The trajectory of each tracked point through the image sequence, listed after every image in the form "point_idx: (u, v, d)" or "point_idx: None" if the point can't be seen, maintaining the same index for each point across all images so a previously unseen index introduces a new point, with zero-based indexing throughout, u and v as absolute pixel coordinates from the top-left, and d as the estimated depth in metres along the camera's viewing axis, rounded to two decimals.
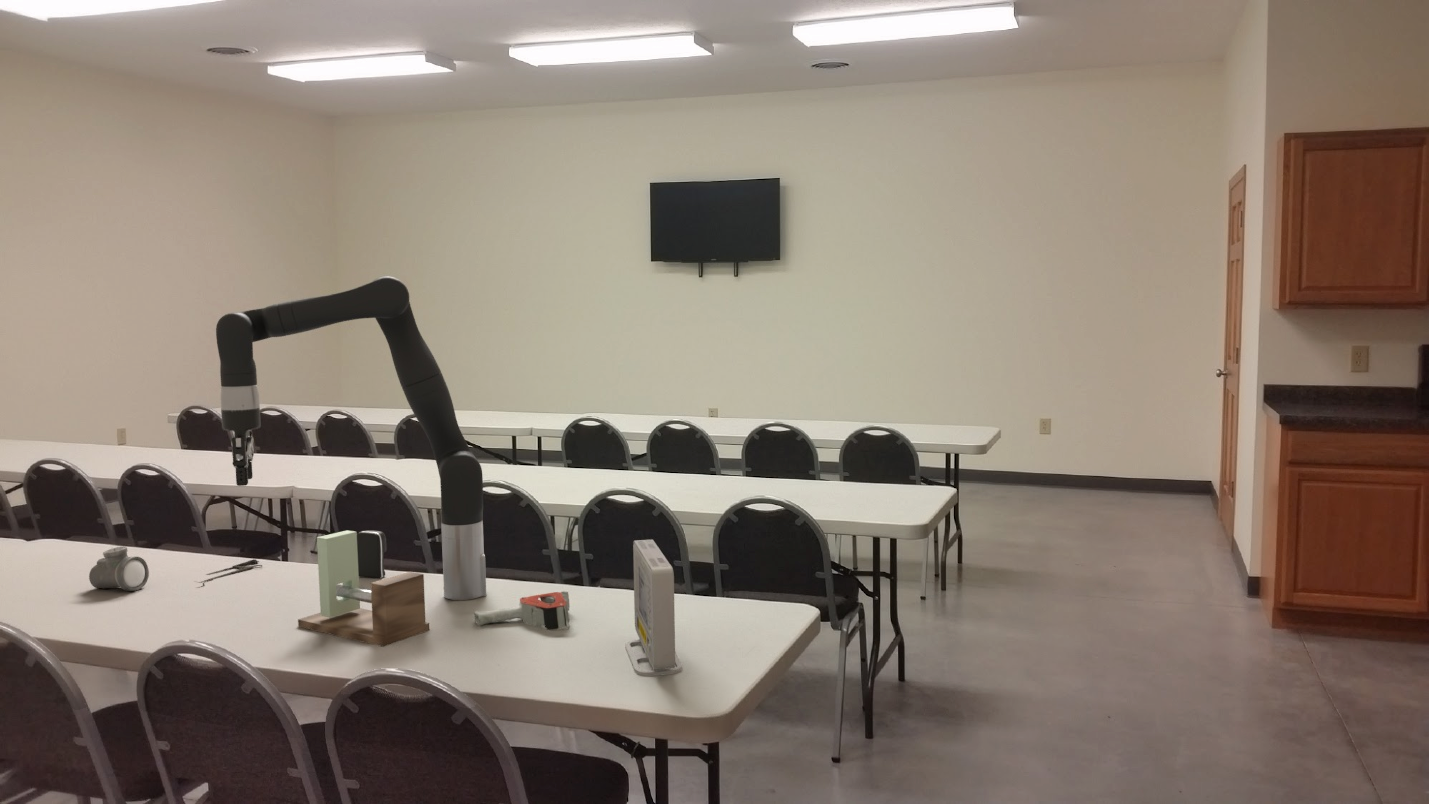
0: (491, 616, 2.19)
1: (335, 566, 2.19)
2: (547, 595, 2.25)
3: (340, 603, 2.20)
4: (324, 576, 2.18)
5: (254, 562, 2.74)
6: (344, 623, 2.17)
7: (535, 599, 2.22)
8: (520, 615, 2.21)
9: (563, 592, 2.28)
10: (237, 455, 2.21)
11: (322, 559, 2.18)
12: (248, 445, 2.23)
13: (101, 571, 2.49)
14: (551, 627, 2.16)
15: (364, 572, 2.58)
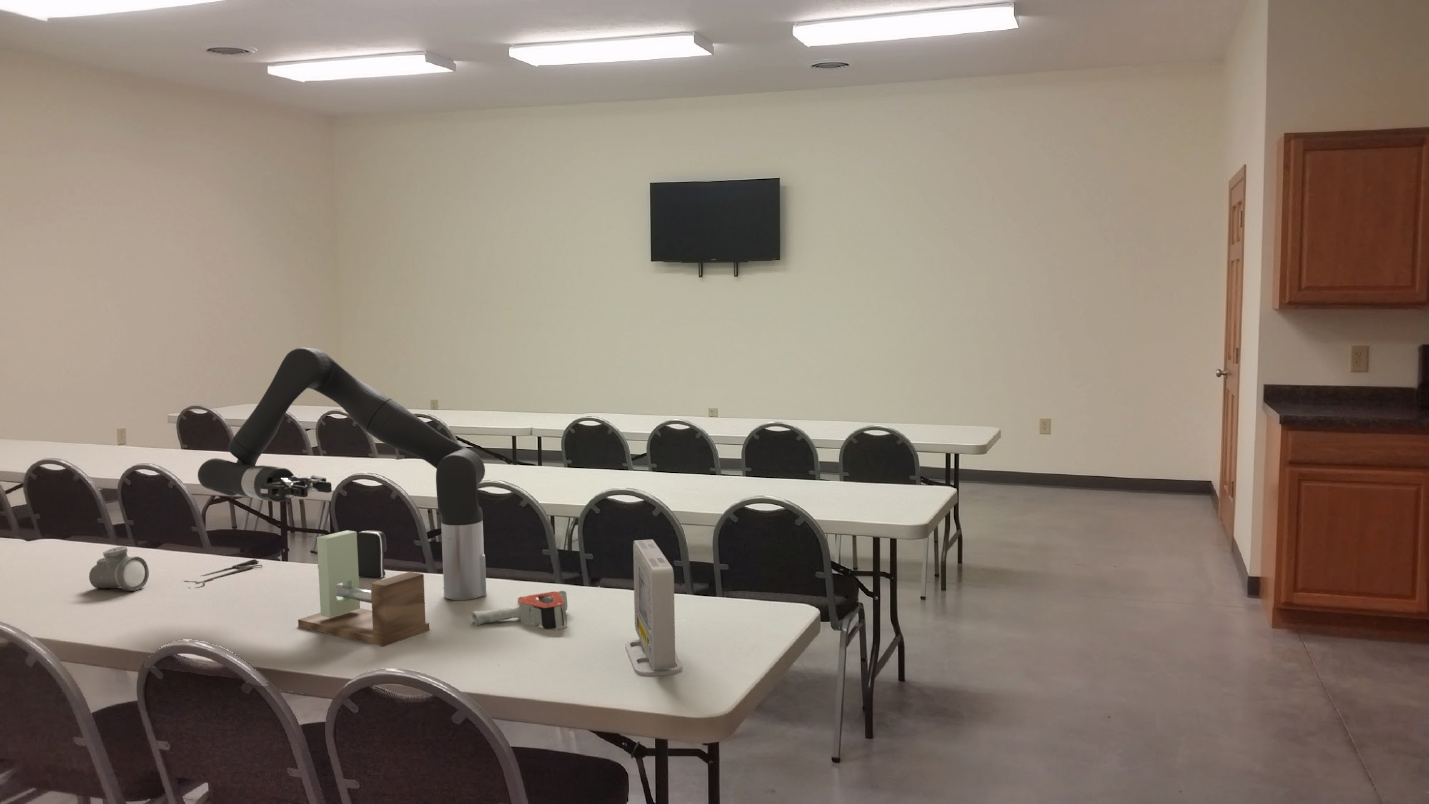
0: (489, 615, 2.20)
1: (335, 566, 2.19)
2: (545, 594, 2.25)
3: (340, 603, 2.20)
4: (324, 576, 2.18)
5: (254, 562, 2.74)
6: (344, 623, 2.17)
7: (533, 599, 2.22)
8: (518, 614, 2.21)
9: (561, 591, 2.28)
10: None
11: (322, 559, 2.18)
12: (282, 481, 2.25)
13: (101, 571, 2.49)
14: (549, 627, 2.16)
15: (364, 572, 2.58)
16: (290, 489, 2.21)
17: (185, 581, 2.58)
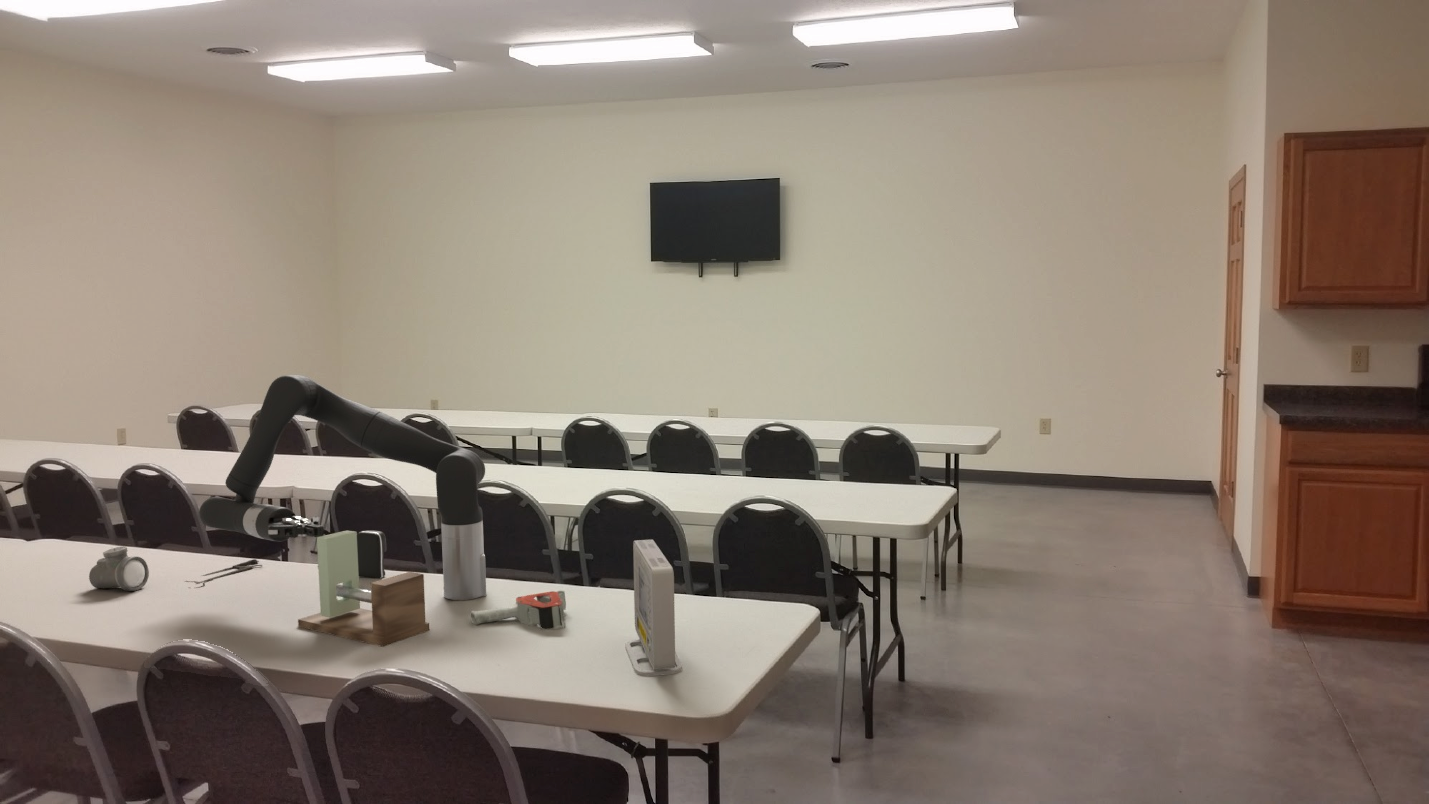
0: (487, 615, 2.20)
1: (335, 566, 2.19)
2: (543, 594, 2.25)
3: (340, 603, 2.20)
4: (324, 576, 2.18)
5: (254, 562, 2.74)
6: (344, 623, 2.17)
7: (531, 598, 2.22)
8: (516, 614, 2.22)
9: (559, 591, 2.29)
10: None
11: (322, 559, 2.18)
12: (287, 521, 2.26)
13: (101, 571, 2.49)
14: (546, 626, 2.16)
15: (364, 572, 2.58)
16: (303, 529, 2.24)
17: (185, 581, 2.58)
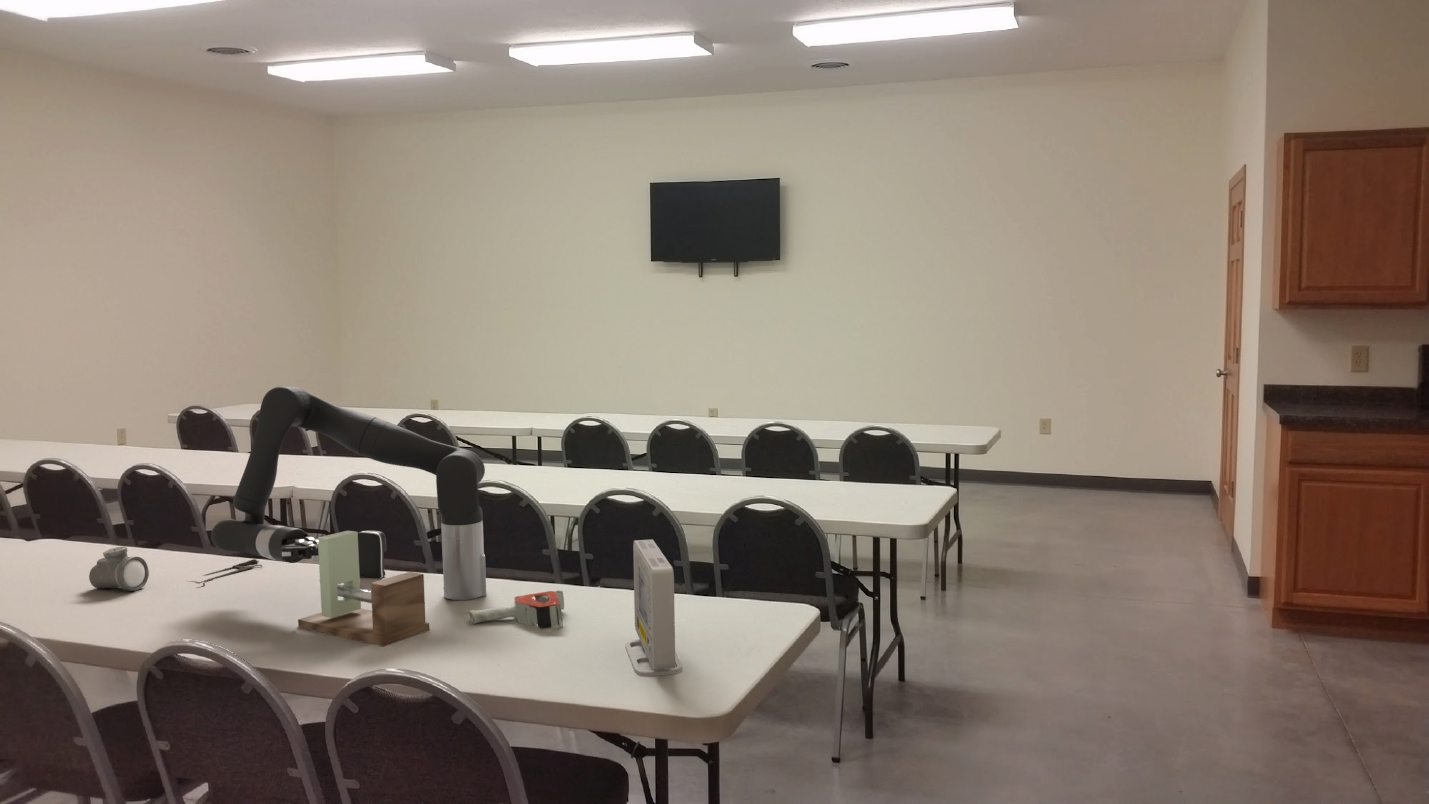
0: (485, 614, 2.21)
1: (336, 566, 2.18)
2: (541, 594, 2.26)
3: (341, 603, 2.20)
4: (325, 576, 2.18)
5: (254, 562, 2.74)
6: (344, 623, 2.17)
7: (529, 598, 2.23)
8: (514, 614, 2.22)
9: (558, 591, 2.29)
10: None
11: (323, 559, 2.17)
12: (300, 543, 2.24)
13: (101, 571, 2.49)
14: (544, 626, 2.17)
15: (364, 572, 2.58)
16: (317, 550, 2.22)
17: None
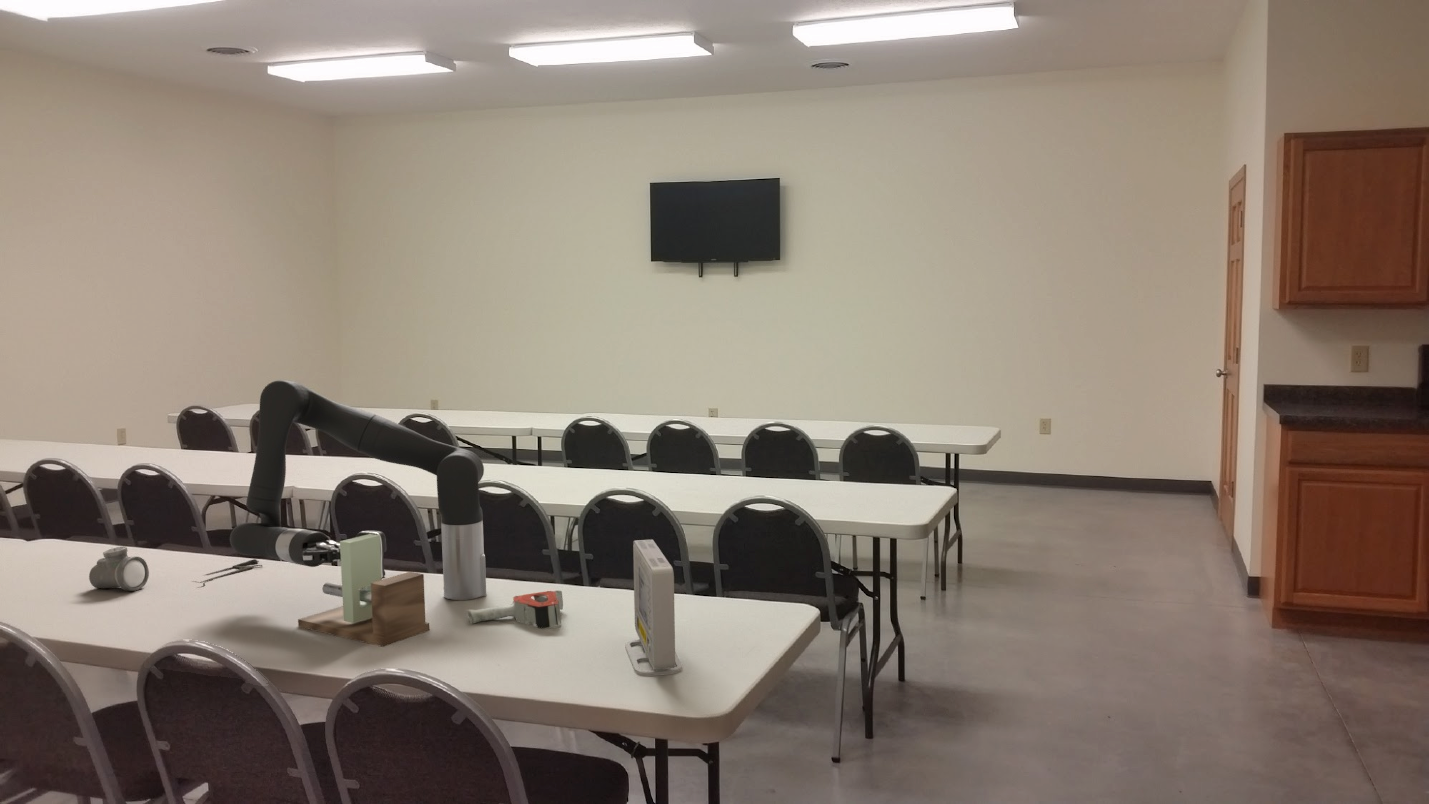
0: (484, 614, 2.21)
1: (358, 570, 2.15)
2: (540, 594, 2.26)
3: (363, 608, 2.16)
4: (347, 581, 2.14)
5: (254, 562, 2.74)
6: (344, 623, 2.17)
7: (528, 598, 2.23)
8: (513, 613, 2.22)
9: (557, 591, 2.29)
10: None
11: (346, 563, 2.14)
12: (321, 546, 2.21)
13: (101, 571, 2.49)
14: (542, 626, 2.17)
15: None
16: (338, 554, 2.18)
17: None
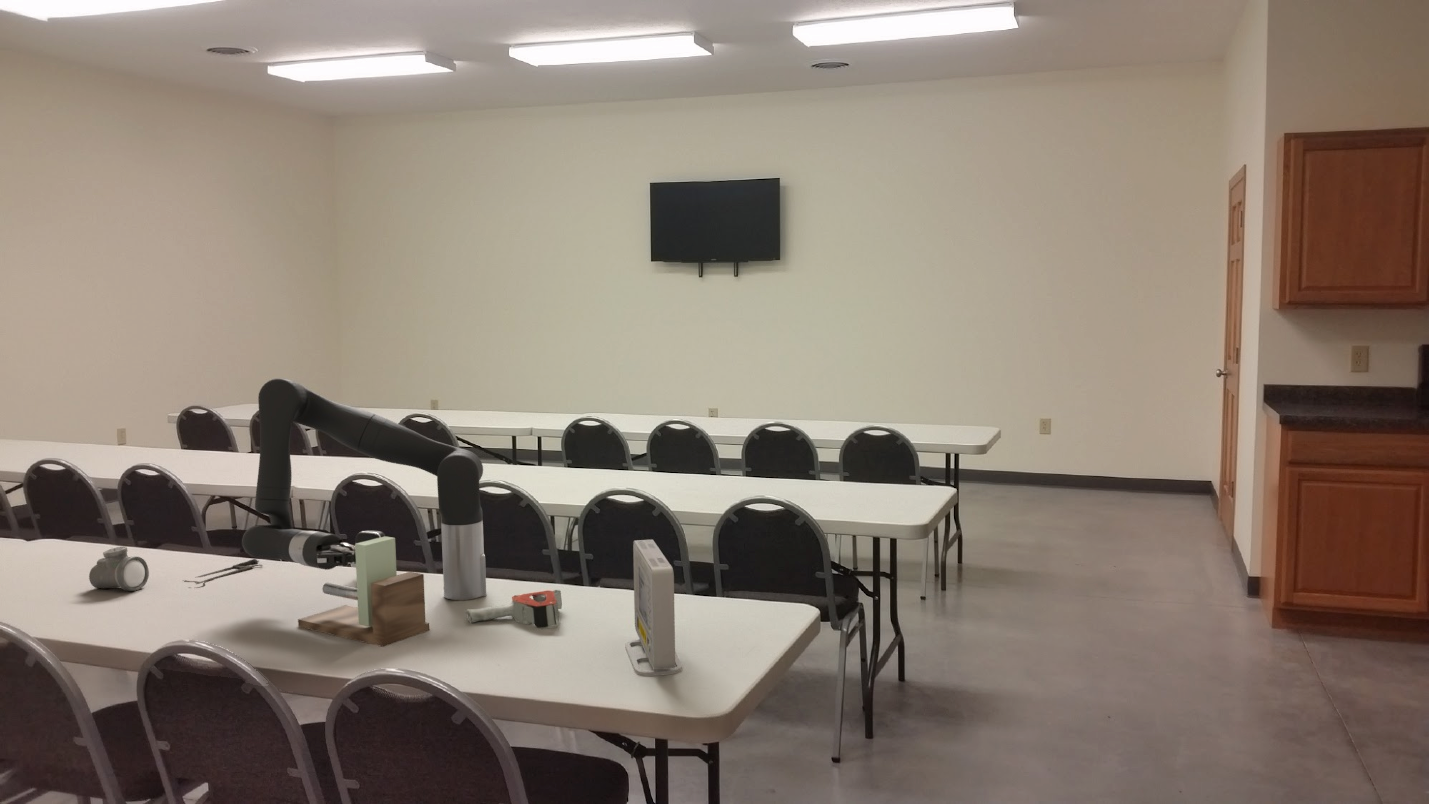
0: (482, 613, 2.21)
1: (373, 573, 2.12)
2: (539, 593, 2.26)
3: None
4: (362, 584, 2.12)
5: (254, 562, 2.74)
6: (344, 623, 2.17)
7: (526, 597, 2.23)
8: (512, 613, 2.23)
9: (556, 590, 2.29)
10: None
11: (361, 566, 2.11)
12: (336, 549, 2.18)
13: (101, 571, 2.49)
14: (541, 625, 2.17)
15: None
16: (353, 556, 2.16)
17: (185, 581, 2.58)
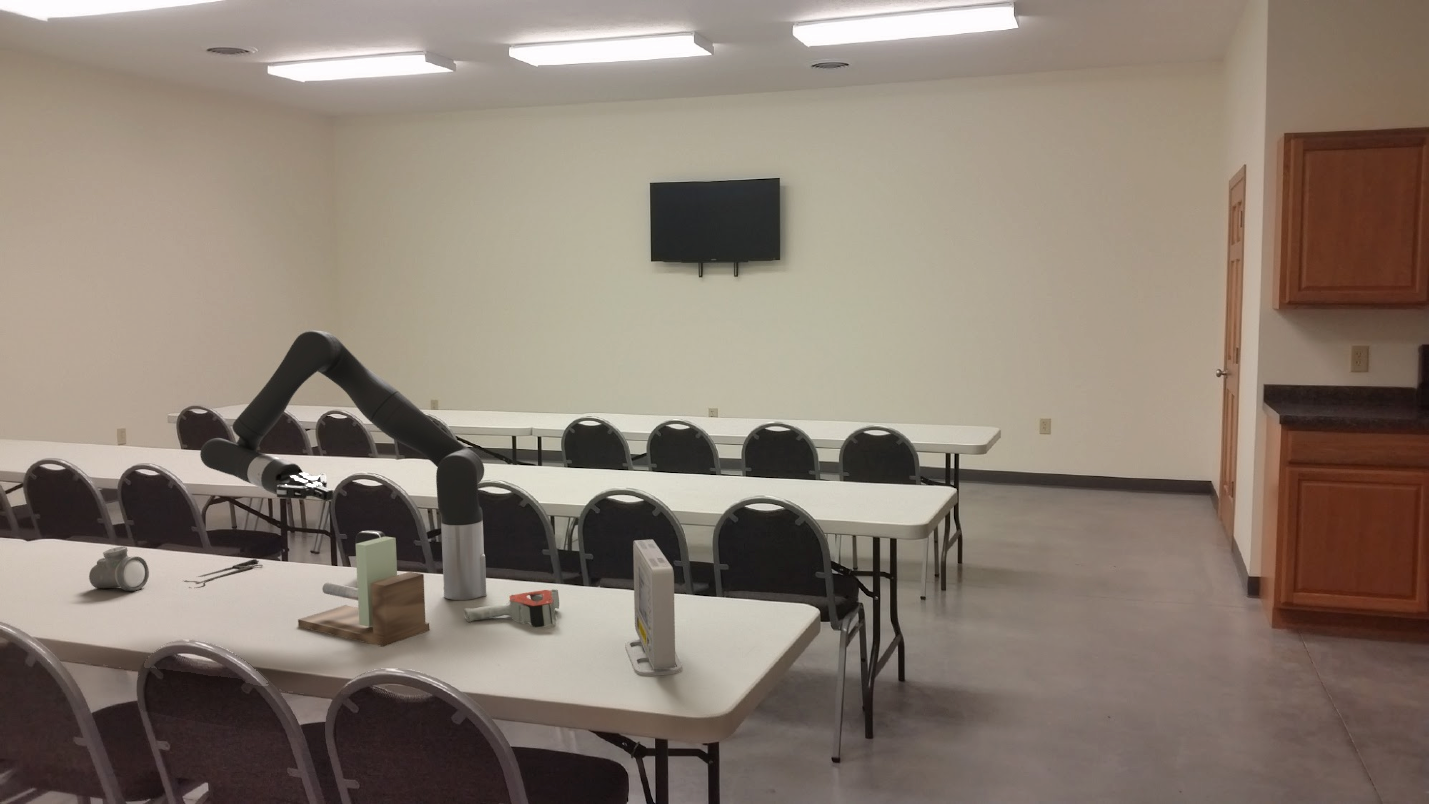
0: (480, 612, 2.22)
1: (374, 573, 2.12)
2: (536, 593, 2.27)
3: None
4: (363, 584, 2.11)
5: (254, 562, 2.74)
6: (344, 623, 2.17)
7: (524, 596, 2.24)
8: (509, 612, 2.23)
9: (553, 590, 2.30)
10: None
11: (361, 566, 2.11)
12: (295, 480, 2.24)
13: (101, 571, 2.49)
14: (537, 624, 2.17)
15: None
16: (312, 491, 2.23)
17: (185, 581, 2.58)
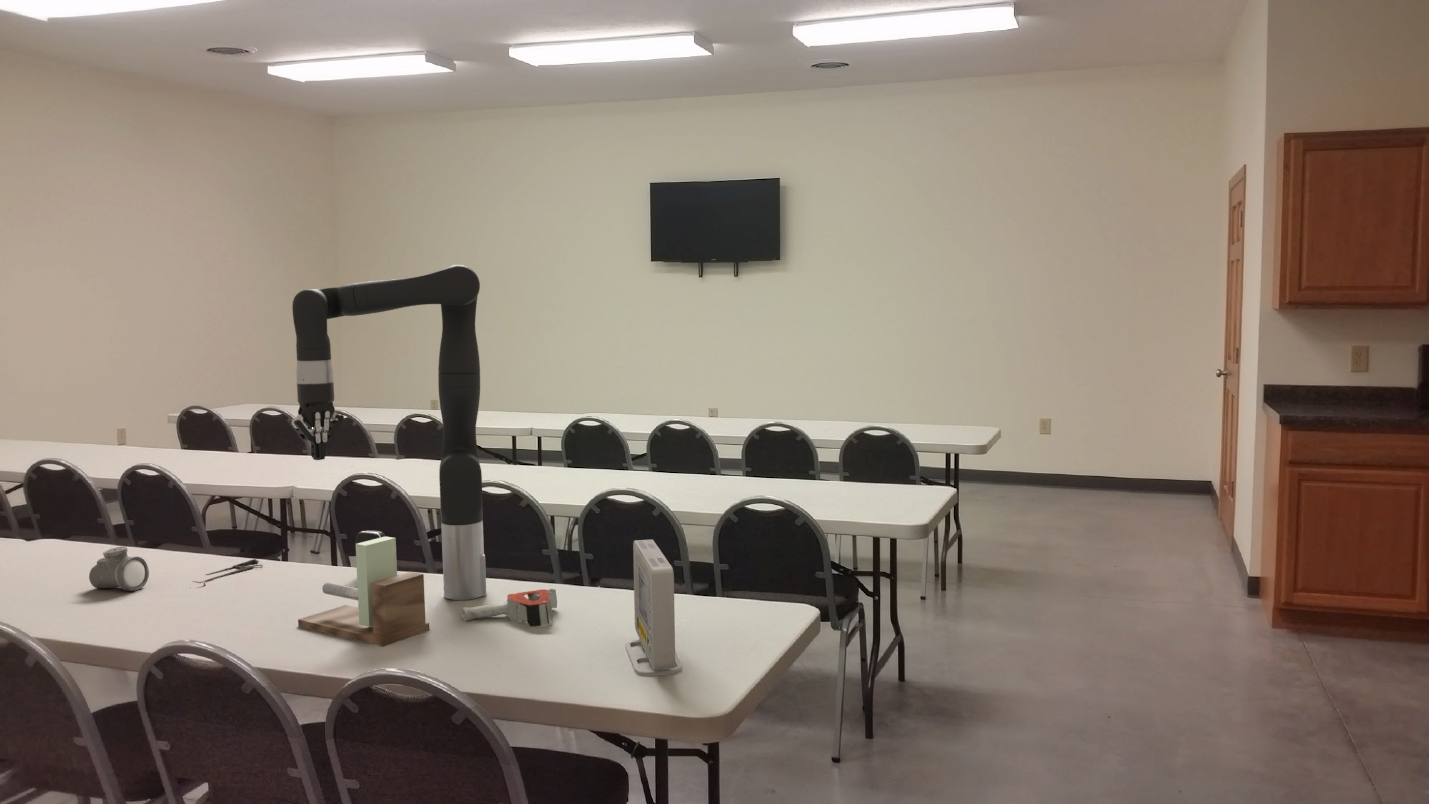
0: (477, 612, 2.23)
1: (374, 573, 2.12)
2: (534, 592, 2.27)
3: None
4: (363, 584, 2.11)
5: (254, 562, 2.74)
6: (344, 623, 2.17)
7: (521, 596, 2.24)
8: (506, 611, 2.24)
9: (551, 589, 2.30)
10: (309, 431, 2.30)
11: (361, 566, 2.11)
12: (314, 421, 2.29)
13: (101, 571, 2.49)
14: (533, 624, 2.18)
15: None
16: (313, 444, 2.30)
17: None
